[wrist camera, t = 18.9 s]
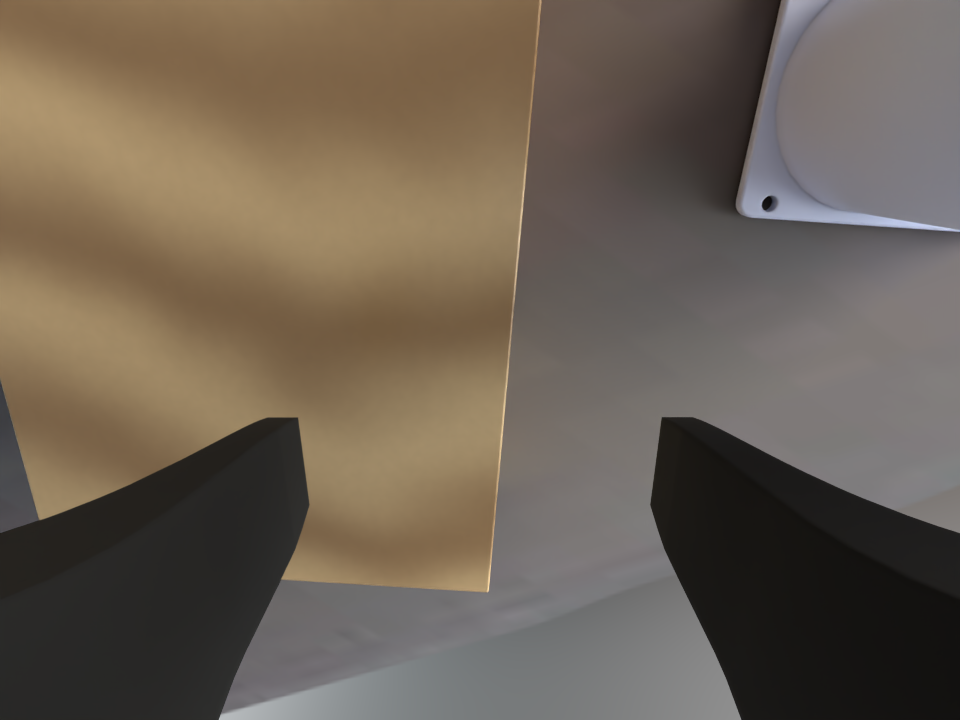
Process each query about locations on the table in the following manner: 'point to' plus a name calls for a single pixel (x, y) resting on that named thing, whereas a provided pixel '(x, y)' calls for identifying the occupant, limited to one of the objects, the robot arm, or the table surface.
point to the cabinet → (270, 255)
